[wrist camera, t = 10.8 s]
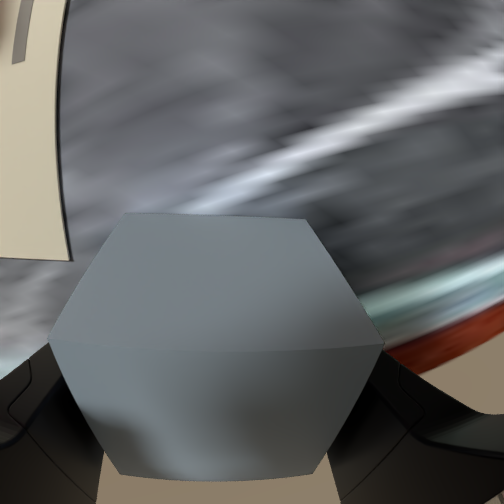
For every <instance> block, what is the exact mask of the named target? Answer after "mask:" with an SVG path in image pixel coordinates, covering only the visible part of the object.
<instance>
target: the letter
mask: <svg viewBox="0 0 504 504" xmlns="http://www.w3.org/2000/svg"><path fill="white" fill-rule="evenodd" d="M66 3H67V0H0V257H7V258H25V259H45V260H66V261H69V260H70V256H69V251H68V245H67V239H66V233H65V226H64V220H63V212H62V204H61V195H60V185H59V174H58V159H57V134H56V102H57V78H58V63H59V52H60V43H61V35H62V28H63V21H64V15H65V9H66Z"/></svg>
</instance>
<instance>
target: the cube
mask: <svg viewBox="0 0 504 504" xmlns="http://www.w3.org/2000/svg"><path fill="white" fill-rule="evenodd" d="M47 339H48V341H49V344H50V346H51V349H52V351H53V354H54V356H55V358H56V361H57V363H58V365H59V368H60V370H61V372H62V374H63V376H64V378H65V381H66V383H67V385H68V387H69V389H70V391H71V393H72V395H73V397H74V399H75V401H76V403H77V405H78V407H79V408H80V410H81V412H82V414H83V416H84V418H85V419H86V421H87V423H88V425H89V426H90V428H91V430H92V432H93V433H94V435H95V437H96V438H97V440H98V442H99V443H100V445H101V446H102V448H103V450H104V451H105V453H106V454H107V456H108V457H109V459H110V460H111V462H112V463H113V465H114V466H115V468H116V469H117V471H118V472H119V474H121V475H128V476H136V477H144V478H154V479H165V480H180V481H248V480H264V479H274V478H285V477H294V476H300V475H308V474H313V472H314V471H315V469H316V468H317V466H318V464H319V463H320V461H321V460H322V459H323V457H324V455H325V454H326V452H327V451H328V449H329V448H330V446H331V444H332V443H333V441H334V439H335V438H336V436H337V435H338V433H339V431H340V429H341V428H342V426H343V424H344V423H345V421H346V419H347V417H348V416H349V414H350V412H351V410H352V408H353V407H354V405H355V403H356V401H357V399H358V397H359V395H360V394H361V392H362V390H363V388H364V386H365V384H366V382H367V380H368V378H369V376H370V374H371V372H372V370H373V368H374V366H375V364H376V361H377V359H378V357H379V355H380V353H381V351H382V349H383V346H384V344H385V343H384V341H383V339H382V338H381V336H380V334H379V333H378V331H377V329H376V328H375V326H374V324H373V323H372V321H371V319H370V318H369V316H368V315H367V313H366V311H365V310H364V308H363V306H362V305H361V303H360V302H359V300H358V298H357V297H356V295H355V294H354V292H353V291H352V289H351V287H350V286H349V284H348V283H347V281H346V280H345V278H344V276H343V275H342V273H341V272H340V270H339V269H338V267H337V266H336V264H335V263H334V261H333V260H332V258H331V257H330V255H329V254H328V252H327V251H326V249H325V248H324V246H323V245H322V243H321V242H320V240H319V239H318V237H317V236H316V234H315V233H314V231H313V230H312V228H311V227H310V225H309V224H308V223H307V221H306V220H305V219H288V218H269V217H247V216H221V215H189V214H141V213H125V214H124V216H123V217H122V218H121V220H120V221H119V223H118V224H117V225H116V227H115V228H114V230H113V231H112V233H111V234H110V236H109V237H108V238H107V240H106V241H105V243H104V244H103V246H102V247H101V249H100V250H99V252H98V253H97V255H96V256H95V258H94V259H93V261H92V263H91V264H90V266H89V267H88V269H87V270H86V272H85V274H84V275H83V277H82V278H81V280H80V282H79V283H78V285H77V287H76V288H75V290H74V291H73V293H72V295H71V297H70V298H69V300H68V302H67V303H66V305H65V307H64V309H63V310H62V312H61V314H60V316H59V317H58V319H57V321H56V323H55V325H54V327H53V328H52V330H51V332H50V334H49V336H48V338H47Z"/></svg>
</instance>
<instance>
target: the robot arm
mask: <svg viewBox="0 0 504 504" xmlns="http://www.w3.org/2000/svg"><path fill="white" fill-rule="evenodd" d="M103 455H104V450H103V448H102V446H101V445H100V443H99V442H98V440H97V438H96V437H95V435H94V433H93V432H92V430H91V428H90V426H89V425H88V423H87V421H86V419H85V418H84V416H83V414H82V412H81V410H80V408H79V407H78V405H77V403H76V401H75V399H74V397H73V395H72V393H71V391H70V389H69V387H68V385H67V383H66V381H65V378H64V376H63V374H62V372H61V370H60V368H59V365H58V363H57V361H56V358H55V356H54V354H53V351H52V349H51V346H50V344H49V342H48V343H47V344H46V345H45V346H43V347H42V348H41V349H39V350H38V351H37V352H36V353H34V354H33V355H32V356H31V357H30V358H29V359H27V360H26V361H24V362H23V363H22V364H21V365H19V366H18V367H17V368H15V369H14V370H13V371H12V372H10V373H9V374H8V375H6V376H5V377H4V378H2V379H1V380H0V504H96V503H95V502H96V499H97V492H98V485H99V478H100V472H101V466H102V460H103ZM327 455H328V459H329V462H330V465H331V469H332V473H333V477H334V480H335V484H336V487H337V491H338V495H339V498H340V501H341V504H504V414H499V415H498V414H497V415H491V414H484V413H480V412H477V411H475V410H473V409H471V408H469V407H467V406H466V405H464V404H463V403H461V402H459V401H458V400H456V399H454V398H453V397H451V396H449V395H448V394H446V393H444V392H443V391H441V390H439V389H438V388H436V387H434V386H433V385H431V384H430V383H428V382H427V381H425V380H424V379H422V378H421V377H419V376H418V375H416V374H415V373H414V372H412V371H411V370H409V369H408V368H407V367H405V366H404V365H403V364H400V362H398V361H397V360H396V359H394V358H393V357H392V356H390V355H389V354H388V353H386V352H385V351H384V350H382V351H381V353H380V355H379V357H378V359H377V361H376V364H375V366H374V368H373V370H372V372H371V374H370V376H369V378H368V380H367V382H366V384H365V386H364V388H363V390H362V392H361V394H360V395H359V397H358V399H357V401H356V403H355V405H354V407H353V408H352V410H351V412H350V414H349V416H348V417H347V419H346V421H345V423H344V424H343V426H342V428H341V429H340V431H339V433H338V435H337V436H336V438H335V439H334V441H333V443H332V444H331V446H330V448H329V449H328V451H327Z"/></svg>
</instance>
